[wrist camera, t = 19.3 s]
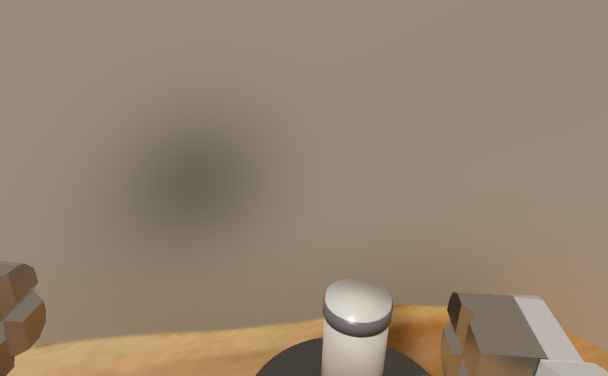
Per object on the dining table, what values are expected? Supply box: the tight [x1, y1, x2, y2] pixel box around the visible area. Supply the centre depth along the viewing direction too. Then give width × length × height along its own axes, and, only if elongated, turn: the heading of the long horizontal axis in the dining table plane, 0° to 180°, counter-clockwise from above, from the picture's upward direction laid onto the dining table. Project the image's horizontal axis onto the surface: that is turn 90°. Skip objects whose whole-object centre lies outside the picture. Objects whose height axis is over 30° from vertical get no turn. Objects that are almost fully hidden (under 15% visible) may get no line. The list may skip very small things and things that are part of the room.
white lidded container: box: [321, 278, 393, 376], centre depth 34 cm, size 5×5×12 cm
